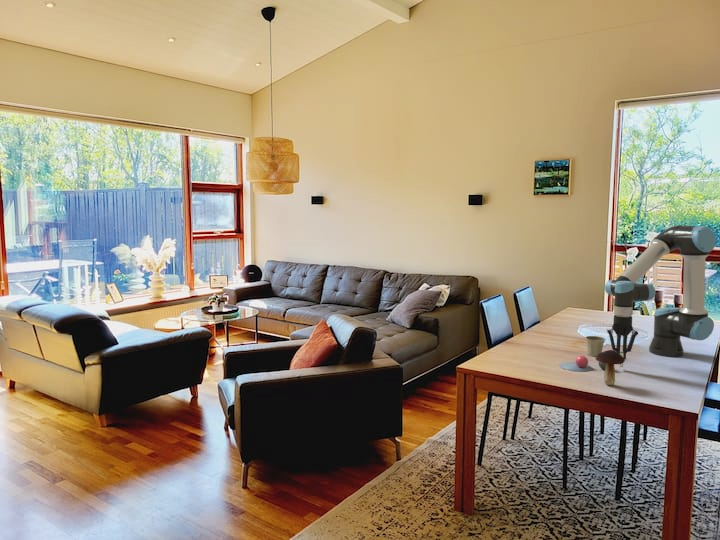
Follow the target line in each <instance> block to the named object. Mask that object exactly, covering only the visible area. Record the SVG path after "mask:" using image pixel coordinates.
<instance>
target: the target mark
mask: <svg viewBox="0 0 720 540" xmlns="http://www.w3.org/2000/svg"><path fill="white" fill-rule="evenodd" d="M559 367H560V368H561V369H563V370H565V371H570V372H577V371H578V372H580V373H582V372H584V373H585V372H589V371H592V370H593V367H592V366H591V365H589V364H588V365H587V366H586V367H584V368H581V367H578V366H577V365H576V362H575V361H574V362H572V361H571V362H570V361H567V362H566V361H565V362H562V363H560V364H559Z"/></svg>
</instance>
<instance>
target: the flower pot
mask: <svg viewBox="0 0 720 540" xmlns="http://www.w3.org/2000/svg"><path fill="white" fill-rule="evenodd" d="M584 338H585V339H584V340H585V342H586V349H587V351H586V352H587V355H589V356H591V357H597V355H598V354H600V353H602V352H603V346H604V343H605V341H606V338H604V337H602V336H595V335H588V336H587V335H586V336H584Z"/></svg>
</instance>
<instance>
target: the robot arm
mask: <svg viewBox="0 0 720 540" xmlns="http://www.w3.org/2000/svg"><path fill="white" fill-rule="evenodd" d="M716 244H717V237H716V234H715V232H714V231H713V230H712V229H711V228H710V227H708V226H701V225H673V226H671V227H668V228H666V229H665V230H663V231H662V232H660V233H658V234H657V235H656V236H655V237H654V238H653V239H652V240H650V245H649V246H648V247H647V248H646V249H644V251H643V252H641V254H640V255H639V256H638V257H636V259H635V260H634V261H632V263H631V264H630V265H629V266H628V267H627V268H626V269H625V270H624V271H623V272H622V273H621V274H620V275H619V276H618V277H617V278H616V279H609V280H608V281H607V282H606V283H605V285H604V290H605V292H606V294H608V295H610V296H613V297H614V306H613V308H614V309H613V314H614V315H613V321H612V322H613V324H612V326H611V327H610V328H607V329H606V332H607V334H608V335H609V340H610V341H609V342H610V345H611V350H613V351H615V352H617V353H619V354H620V355H621V356H622V357H623V358H624V360H625V361H626V359H627V353H630V352H632V349H633V346H634V342H635V339H636V337H637V336H638V334H639V332H638V330H635V329H634V327H633V309H634V303H635V302H643V301H645V302H647V301H651V300H653V299H654V298H655V297H656V289H655V286H653V285H652V284H650V283H642V284H641V283H638V282H639V281H640V279H642V278H643V277H644V276H645V275H646V274H647V273H648V272H649V271H650V269H652V268H653V267H654V265H656V263H658V261H659V260H661V259H662V258H663V256H666V255H669V254H670V252H672V251H675V250H676V251H677V250H678V251H679V254H680V256H681V257H682V258H683V284H682V285H683V289H682V290H683V292H682V293H683V294H682V295H683V297H682V308H681V307H659V308H656V309H655V312H654V320H653V321H654V323H653V324H654V325H653V338H652V339H651V342H650V344H649V347H648V351H649V353H650V354H654V355H658V356H664V357H676V358H677V357H681V356H684V350H685V349H684V346H683V344H682V341H681V337H682V338H687V339H690V340H696V341H703V340H706V339H708V338H709V337H710V336H711V335H712V333H713V332H714V327H715V322H714V320H713V319H712V318H711V317H709V311H708V310H707V309H705V293H706V292H705V290H706V288H705V287H706V259H707V257H709V256H710V252H712V251H713V250H714V249H715V247H716ZM613 333H615V334H616V345H615V340H614V336H613ZM630 334H631V336H630V338H629V342H628V336H629V335H630ZM621 338H622V339H621ZM621 342H622V351H621ZM617 365H618V367H619V368H623V367H624V363H622V364H617Z"/></svg>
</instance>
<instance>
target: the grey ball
mask: <svg viewBox="0 0 720 540" xmlns="http://www.w3.org/2000/svg"><path fill="white" fill-rule="evenodd" d="M598 367H599V368H601V369H602V370H604V371H605V367H606V363H602V362H599V361H598Z"/></svg>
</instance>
